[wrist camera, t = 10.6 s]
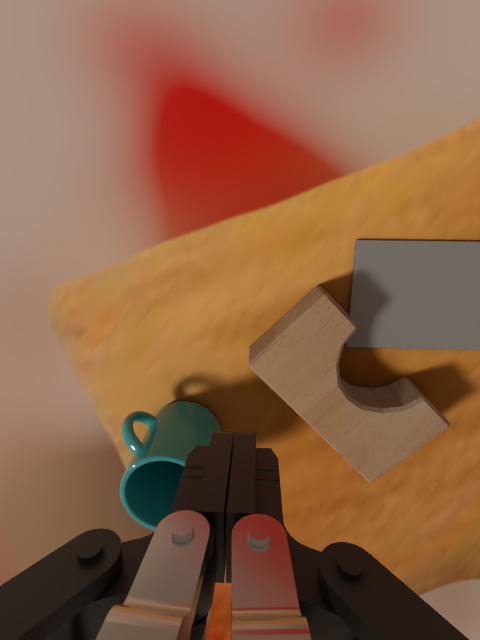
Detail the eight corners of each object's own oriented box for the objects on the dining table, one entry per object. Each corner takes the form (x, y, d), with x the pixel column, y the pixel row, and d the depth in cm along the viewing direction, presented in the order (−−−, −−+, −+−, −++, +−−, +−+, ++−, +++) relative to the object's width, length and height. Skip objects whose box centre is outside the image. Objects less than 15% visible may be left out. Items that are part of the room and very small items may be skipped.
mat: (510, 242, 37) (512, 242, 37) (487, 349, 40) (489, 350, 40) (355, 239, 38) (356, 240, 37) (345, 345, 41) (346, 346, 41)
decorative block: (328, 291, 34) (454, 426, 37) (318, 282, 39) (428, 400, 43) (246, 366, 36) (371, 487, 39) (247, 348, 42) (357, 455, 45)
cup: (166, 368, 43) (135, 418, 32) (237, 431, 45) (230, 498, 34) (120, 414, 45) (76, 476, 34) (189, 472, 47) (169, 548, 36)
